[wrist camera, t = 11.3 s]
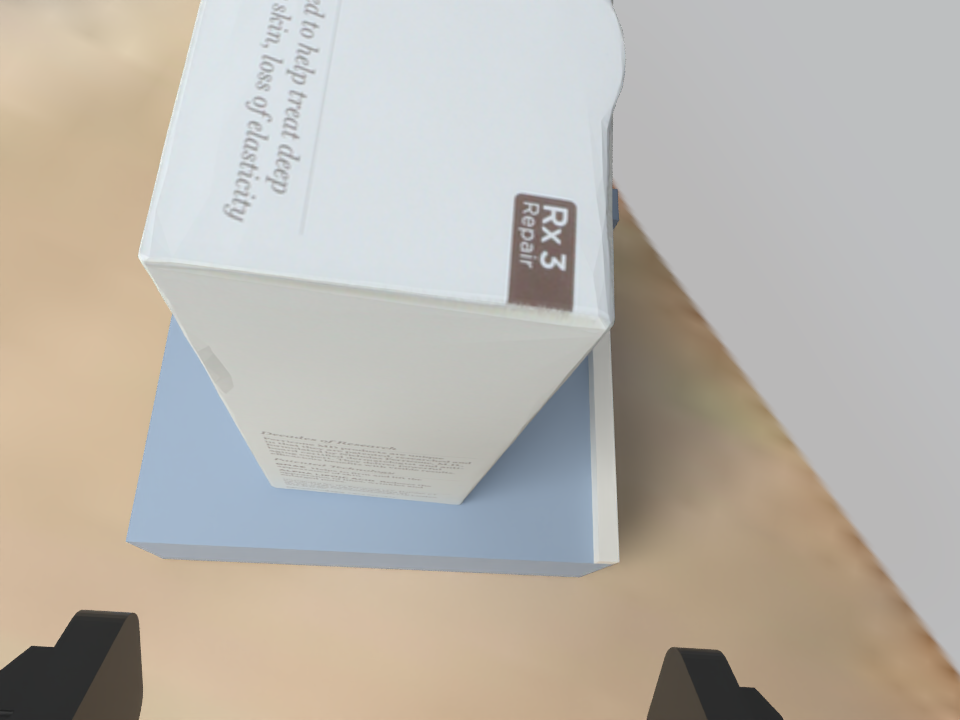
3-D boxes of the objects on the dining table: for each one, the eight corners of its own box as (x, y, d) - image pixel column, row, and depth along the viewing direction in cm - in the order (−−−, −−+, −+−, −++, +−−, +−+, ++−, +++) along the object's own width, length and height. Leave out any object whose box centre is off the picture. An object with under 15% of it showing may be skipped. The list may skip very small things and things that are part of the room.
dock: (573, 274, 30) (617, 189, 25) (578, 577, 26) (635, 556, 20) (221, 241, 29) (185, 143, 23) (163, 558, 24) (101, 530, 19)
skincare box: (312, 254, 25) (236, -245, 11) (491, 276, 25) (631, -172, 12) (268, 505, 21) (85, 245, 8) (474, 524, 22) (640, 311, 8)
